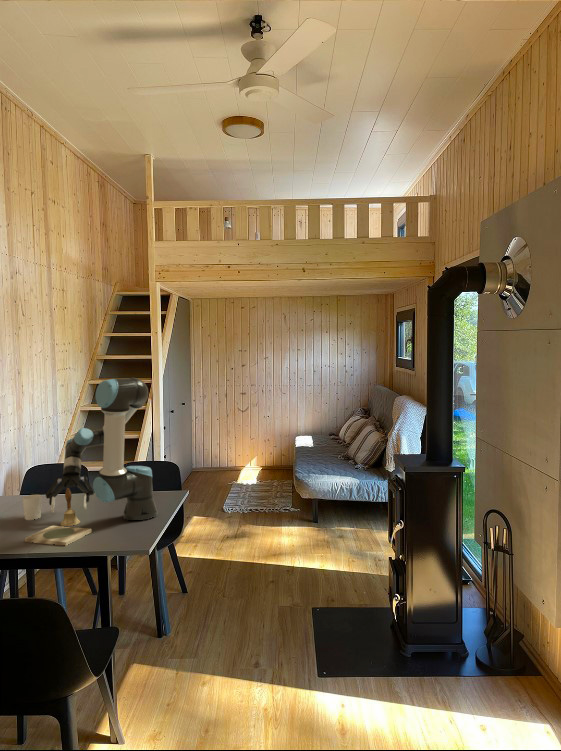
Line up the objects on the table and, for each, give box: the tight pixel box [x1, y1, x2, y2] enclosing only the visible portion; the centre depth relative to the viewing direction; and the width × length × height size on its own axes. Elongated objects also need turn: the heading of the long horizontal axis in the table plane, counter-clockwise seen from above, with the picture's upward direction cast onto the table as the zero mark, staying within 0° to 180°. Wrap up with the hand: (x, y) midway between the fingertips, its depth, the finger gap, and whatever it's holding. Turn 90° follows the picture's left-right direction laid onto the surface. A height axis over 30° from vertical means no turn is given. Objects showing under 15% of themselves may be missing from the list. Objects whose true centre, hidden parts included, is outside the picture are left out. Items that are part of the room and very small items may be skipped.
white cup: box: [22, 494, 42, 521], centre depth 252 cm, size 8×8×10 cm
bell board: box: [24, 525, 93, 547], centre depth 225 cm, size 20×16×2 cm
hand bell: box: [59, 487, 81, 527], centre depth 242 cm, size 8×8×16 cm
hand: (68, 509), depth 240 cm, fingers open, 13 cm apart
